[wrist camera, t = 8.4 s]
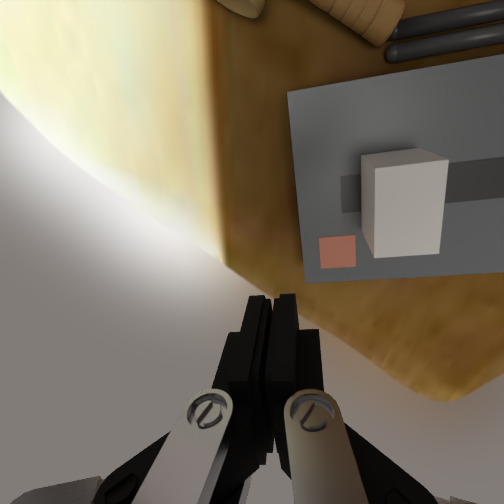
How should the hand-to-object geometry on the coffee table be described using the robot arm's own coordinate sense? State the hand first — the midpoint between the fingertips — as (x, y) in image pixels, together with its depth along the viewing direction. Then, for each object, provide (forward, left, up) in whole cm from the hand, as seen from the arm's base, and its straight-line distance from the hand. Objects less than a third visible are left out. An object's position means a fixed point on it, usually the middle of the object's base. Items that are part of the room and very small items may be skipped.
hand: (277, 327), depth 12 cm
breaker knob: (-7, 0, -16) cm, 17 cm away
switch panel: (-14, -2, -20) cm, 24 cm away
